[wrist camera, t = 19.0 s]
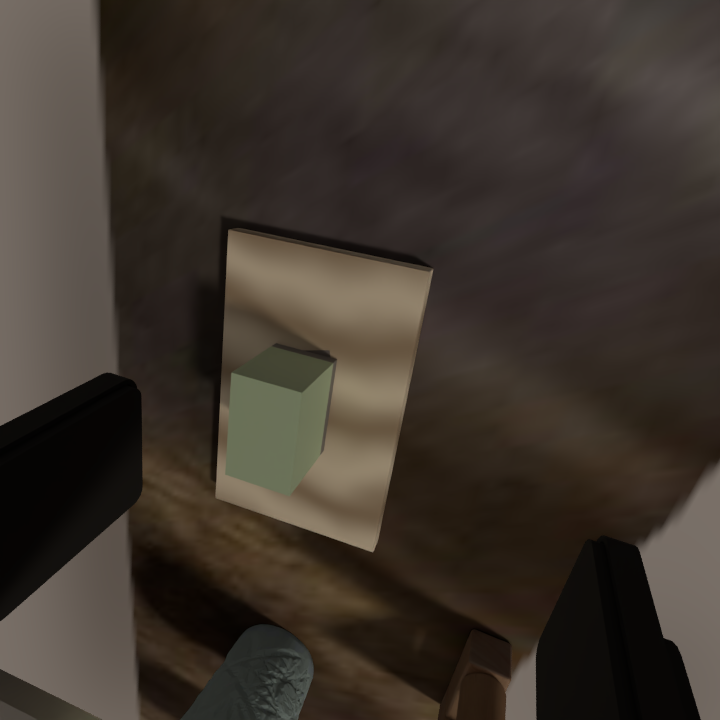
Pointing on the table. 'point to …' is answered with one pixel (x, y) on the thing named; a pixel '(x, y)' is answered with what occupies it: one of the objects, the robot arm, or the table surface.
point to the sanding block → (278, 417)
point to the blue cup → (257, 679)
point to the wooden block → (479, 680)
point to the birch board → (352, 376)
